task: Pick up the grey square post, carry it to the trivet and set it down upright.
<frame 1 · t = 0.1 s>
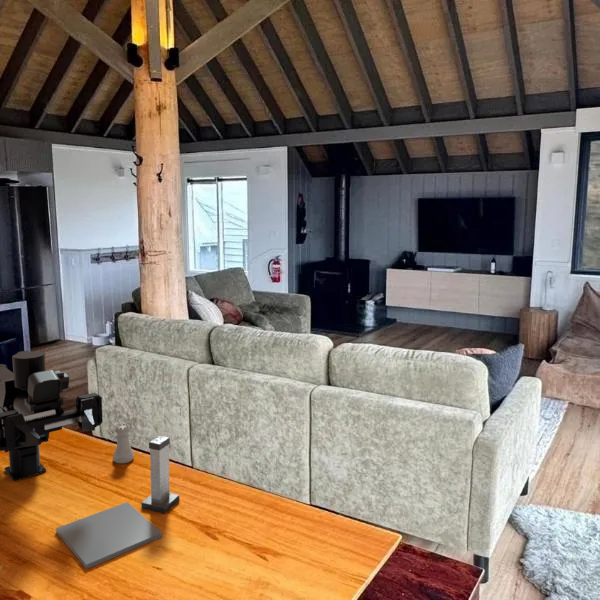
hand: (67, 434, 95), 17 cm above the table, tool horizontal, fingers open, 9 cm apart
grey square post: (160, 504, 104), on the table
rook chess piece: (123, 460, 122), on the table
trivet: (108, 534, 95), on the table
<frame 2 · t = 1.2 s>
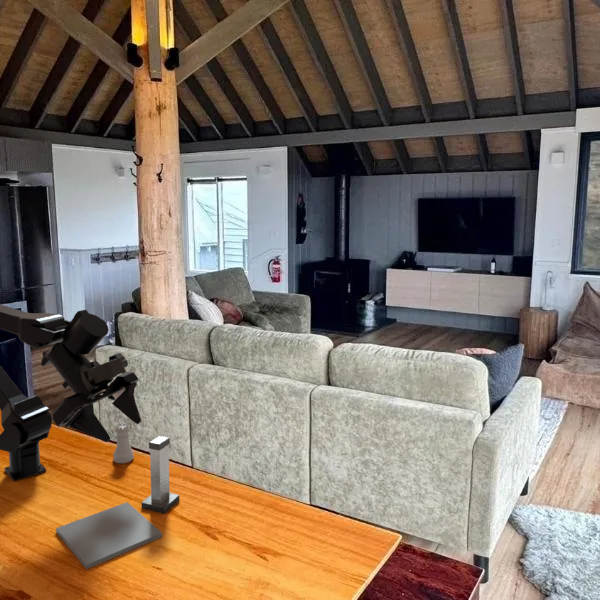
hand: (124, 431, 105), 13 cm above the table, tool tilted 45°, fingers open, 9 cm apart
nothing on the table moved.
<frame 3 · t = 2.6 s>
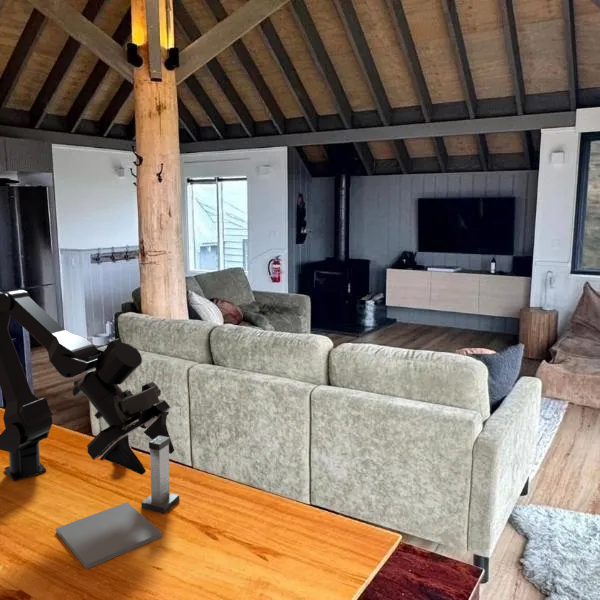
hand: (158, 462, 103), 8 cm above the table, tool tilted 45°, fingers open, 9 cm apart
nothing on the table moved.
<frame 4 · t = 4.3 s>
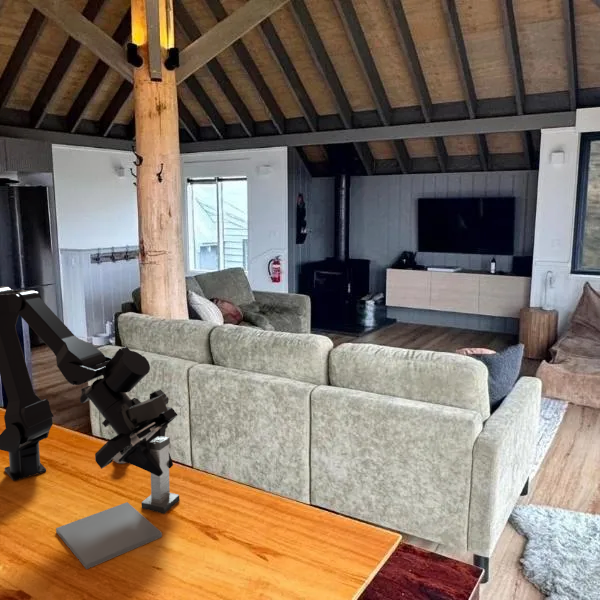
hand: (166, 470, 103), 7 cm above the table, tool tilted 45°, fingers closed on grey square post, 3 cm apart
grey square post: (160, 504, 104), on the table, touching gripper
everything else where it was.
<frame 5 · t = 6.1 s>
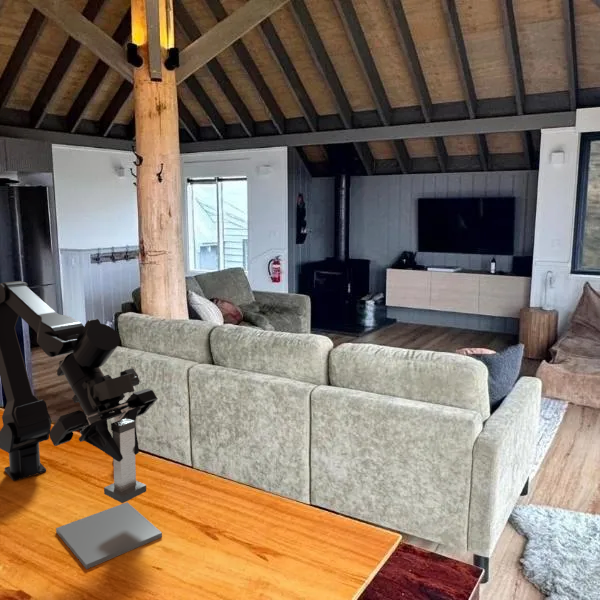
hand: (129, 456, 94), 13 cm above the table, tool tilted 45°, fingers closed on grey square post, 3 cm apart
grey square post: (125, 492, 96), point 6 cm above the table, touching gripper
everything else where it was.
when the fingers open (9 cm above the table, at t = 8.1 s): grey square post stays where it is, resting on trivet.
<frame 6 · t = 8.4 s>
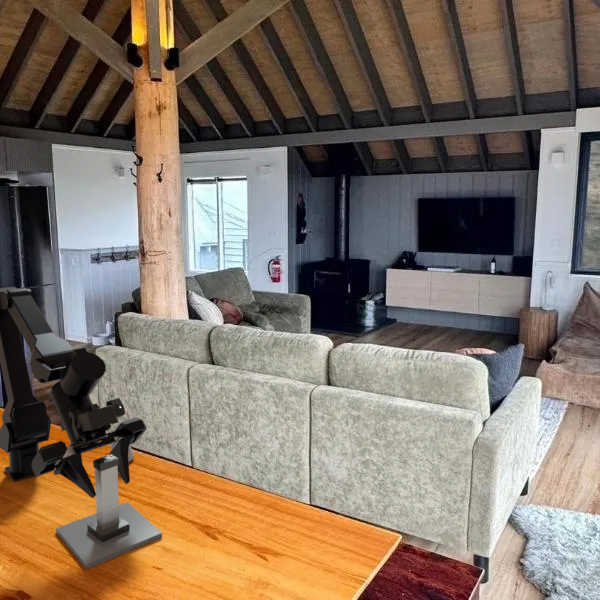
hand: (111, 489, 92), 9 cm above the table, tool tilted 45°, fingers open, 6 cm apart
grey square post: (108, 530, 94), point 1 cm above the table, touching trivet
everything else where it was.
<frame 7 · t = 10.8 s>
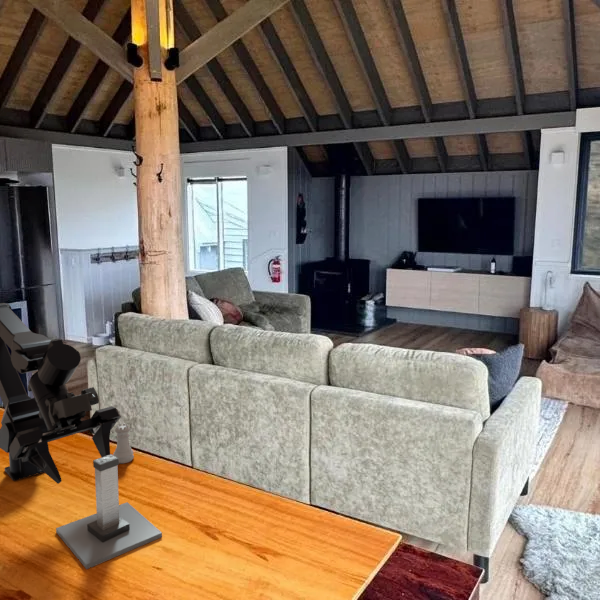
hand: (85, 473, 98), 9 cm above the table, tool tilted 45°, fingers open, 9 cm apart
nothing on the table moved.
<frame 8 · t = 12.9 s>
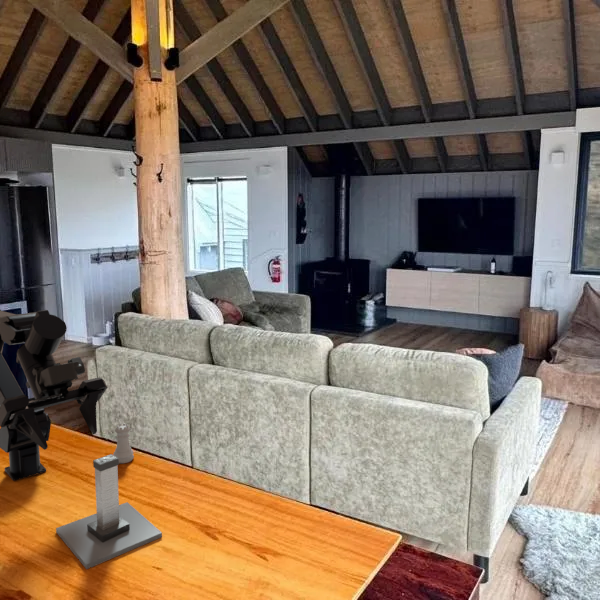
hand: (71, 440, 100), 14 cm above the table, tool tilted 45°, fingers open, 9 cm apart
nothing on the table moved.
at the end: grey square post inside the target area on the trivet (0.0 cm from its centre), point 0.8 cm above the trivet's base; grey square post tilted 0°; the gripper is holding nothing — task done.
